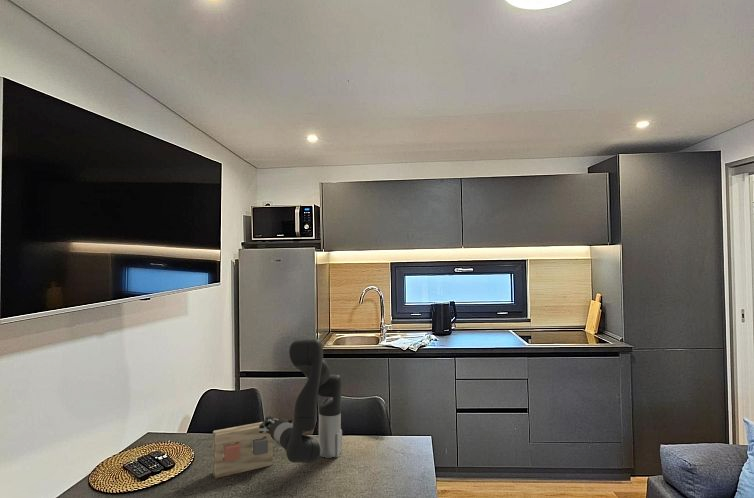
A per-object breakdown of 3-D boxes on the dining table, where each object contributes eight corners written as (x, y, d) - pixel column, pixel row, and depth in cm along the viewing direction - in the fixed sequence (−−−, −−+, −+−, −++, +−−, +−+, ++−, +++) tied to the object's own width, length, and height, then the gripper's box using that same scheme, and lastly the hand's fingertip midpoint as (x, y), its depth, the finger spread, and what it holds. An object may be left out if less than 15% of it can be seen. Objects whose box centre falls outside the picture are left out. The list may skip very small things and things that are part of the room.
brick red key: (224, 458, 174) (224, 445, 174) (237, 456, 177) (237, 442, 177) (226, 461, 172) (226, 448, 172) (239, 458, 174) (239, 445, 175)
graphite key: (252, 452, 180) (253, 439, 180) (265, 450, 183) (265, 437, 183) (255, 455, 178) (255, 442, 178) (267, 452, 180) (268, 439, 180)
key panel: (212, 473, 177) (213, 430, 177) (268, 460, 188) (268, 420, 189) (215, 478, 173) (216, 435, 173) (272, 464, 184) (273, 424, 185)
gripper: (302, 419, 162) (285, 406, 177) (265, 426, 155) (250, 411, 170) (302, 440, 162) (284, 425, 177) (265, 448, 155) (250, 432, 170)
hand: (268, 419), depth 173 cm, fingers closed
